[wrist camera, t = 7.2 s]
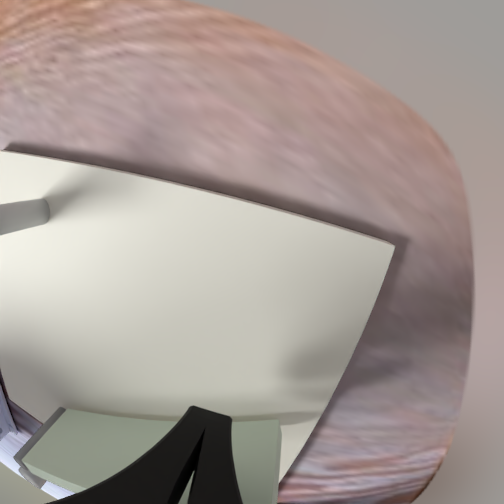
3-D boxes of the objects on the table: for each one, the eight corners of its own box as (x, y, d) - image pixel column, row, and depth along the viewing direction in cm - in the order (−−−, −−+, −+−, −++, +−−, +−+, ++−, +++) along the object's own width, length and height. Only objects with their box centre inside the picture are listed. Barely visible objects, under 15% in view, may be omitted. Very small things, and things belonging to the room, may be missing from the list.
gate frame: (261, 498, 15) (249, 575, 9) (16, 392, 16) (-31, 434, 10) (386, 241, 11) (482, 305, 4) (2, 149, 12) (-87, 152, 5)
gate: (63, 418, 13) (20, 467, 9) (56, 405, 13) (10, 454, 8) (281, 434, 11) (274, 528, 7) (278, 419, 11) (270, 517, 6)
